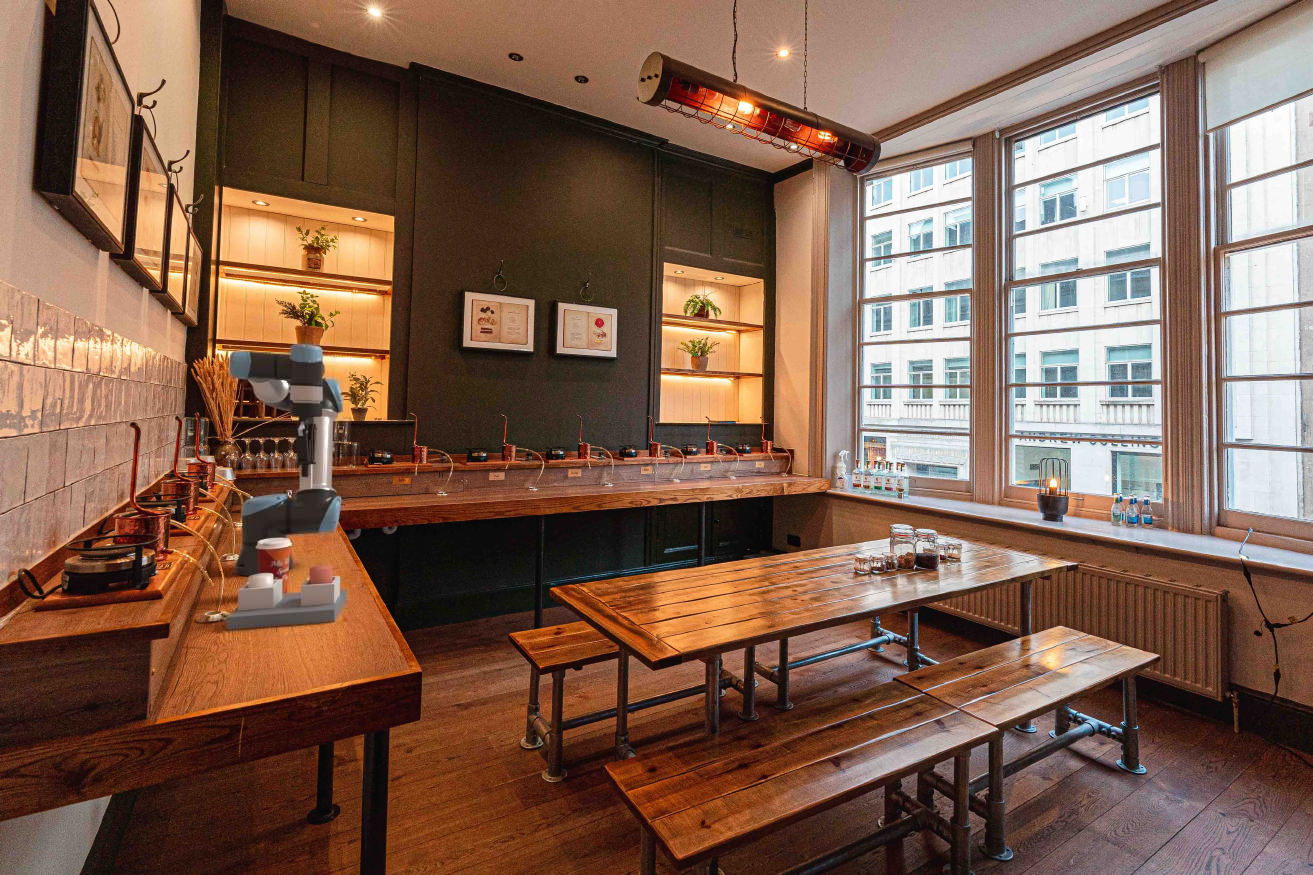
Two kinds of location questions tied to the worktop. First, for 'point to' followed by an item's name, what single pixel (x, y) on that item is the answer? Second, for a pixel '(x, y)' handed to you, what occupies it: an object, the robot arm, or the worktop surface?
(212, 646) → the worktop surface
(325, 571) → the red plug
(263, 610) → the board
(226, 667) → the worktop surface
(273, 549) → the coffee cup
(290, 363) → the robot arm
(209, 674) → the worktop surface
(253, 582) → the plug
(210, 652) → the worktop surface
